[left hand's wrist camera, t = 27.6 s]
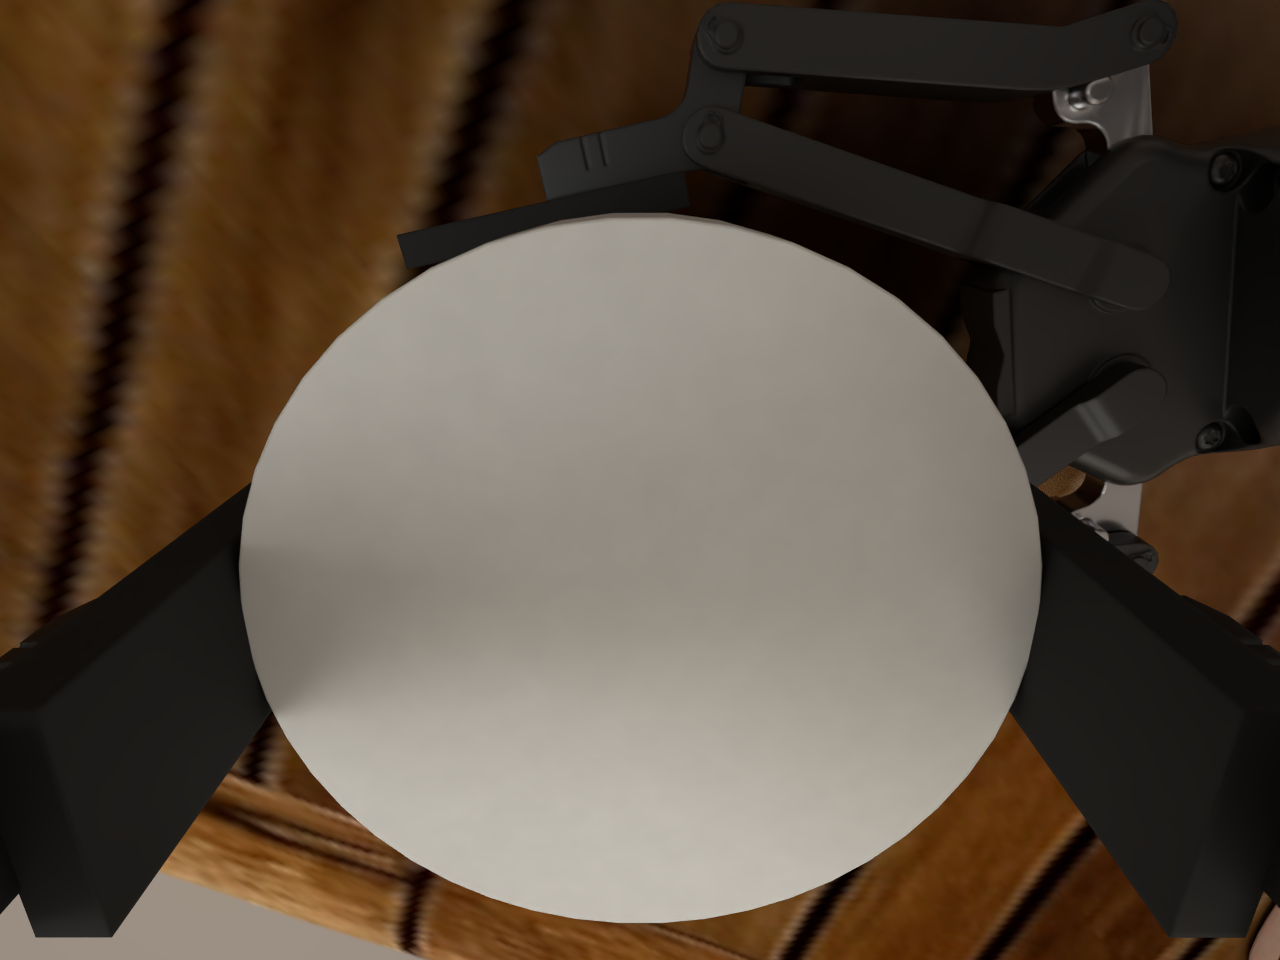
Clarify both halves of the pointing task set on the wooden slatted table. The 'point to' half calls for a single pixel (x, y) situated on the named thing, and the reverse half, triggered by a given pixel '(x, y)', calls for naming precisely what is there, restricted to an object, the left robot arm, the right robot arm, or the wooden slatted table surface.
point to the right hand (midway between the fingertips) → (478, 450)
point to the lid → (640, 569)
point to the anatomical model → (1268, 938)
